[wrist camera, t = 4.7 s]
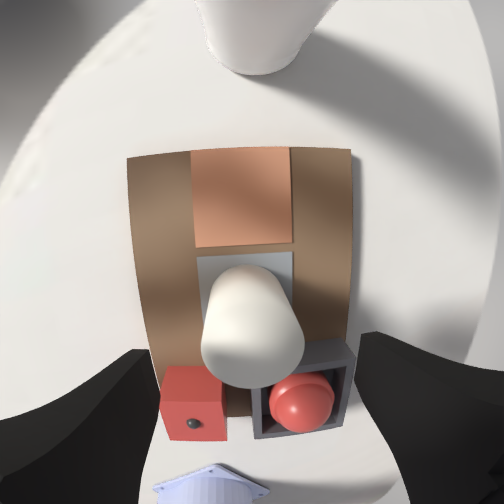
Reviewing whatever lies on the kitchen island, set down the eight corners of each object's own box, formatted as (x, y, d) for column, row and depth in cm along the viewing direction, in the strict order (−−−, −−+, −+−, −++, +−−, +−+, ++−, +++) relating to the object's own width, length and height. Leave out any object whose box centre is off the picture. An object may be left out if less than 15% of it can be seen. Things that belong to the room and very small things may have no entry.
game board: (332, 397, 18) (336, 405, 18) (170, 409, 18) (168, 418, 17) (345, 150, 15) (351, 148, 14) (131, 159, 14) (126, 158, 13)
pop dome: (323, 404, 17) (338, 439, 13) (267, 412, 16) (274, 449, 13) (329, 359, 16) (348, 394, 12) (266, 367, 16) (274, 405, 12)
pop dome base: (332, 404, 18) (342, 426, 15) (251, 414, 17) (254, 439, 15) (341, 337, 16) (355, 357, 14) (247, 347, 16) (250, 370, 14)
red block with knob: (226, 404, 17) (227, 445, 13) (177, 404, 17) (169, 444, 13) (222, 365, 16) (220, 405, 13) (167, 366, 16) (155, 404, 12)
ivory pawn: (239, 343, 16) (242, 401, 11) (194, 292, 15) (179, 340, 10) (297, 305, 16) (322, 355, 11) (255, 249, 15) (266, 281, 10)
